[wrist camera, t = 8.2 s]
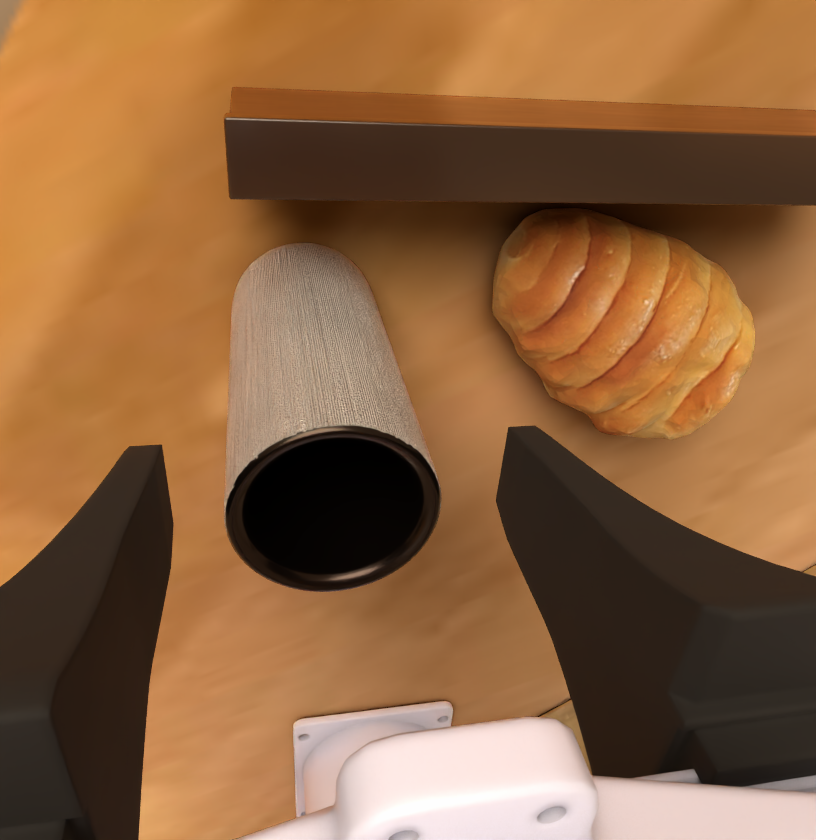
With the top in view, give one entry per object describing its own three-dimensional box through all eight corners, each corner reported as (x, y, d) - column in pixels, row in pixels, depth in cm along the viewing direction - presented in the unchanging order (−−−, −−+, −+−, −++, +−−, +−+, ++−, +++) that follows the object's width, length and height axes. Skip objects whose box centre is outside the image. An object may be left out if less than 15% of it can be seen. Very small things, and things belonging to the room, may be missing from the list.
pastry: (435, 315, 24) (463, 370, 21) (565, 140, 22) (619, 173, 19) (619, 426, 29) (666, 485, 25) (745, 289, 26) (814, 337, 23)
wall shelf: (797, 165, 24) (898, 207, 20) (232, 151, 20) (229, 199, 17) (818, 106, 23) (928, 139, 19) (227, 82, 19) (223, 117, 16)
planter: (326, 213, 22) (377, 387, 13) (397, 326, 24) (477, 533, 16) (202, 288, 22) (175, 500, 14) (283, 391, 25) (302, 623, 16)
